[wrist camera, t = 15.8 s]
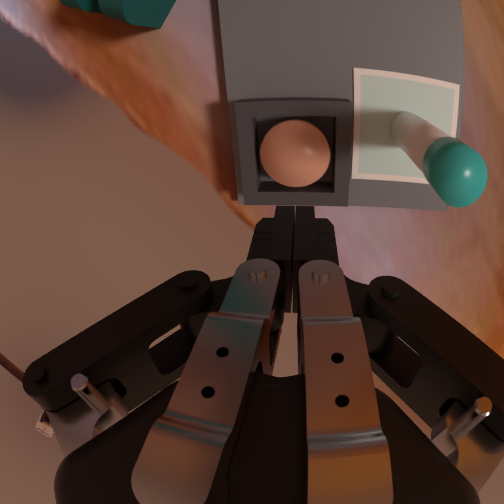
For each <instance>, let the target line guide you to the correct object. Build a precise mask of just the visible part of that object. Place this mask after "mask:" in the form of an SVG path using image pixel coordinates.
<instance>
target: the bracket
mask: <svg viewBox="0 0 504 504" xmlns="http://www.w3.org/2000/svg"><path fill="white" fill-rule="evenodd" d="M60 2H61V3H62V4H63V5H65V6H67V7H70V8H75V9H79V10H84V11H88V12H96V13H103V14H104V15H105V16H107V17H110V18H113V19H117V20H120V21H123V22H126V23H129V24H132V25H139V26H146V27H153V28H161V26H162V25H163V23H164V21H165V19H166V17H167V15H168V14H169V12H170V10H171V8H172V7H173V5H174V3H175V2H176V0H60Z"/></svg>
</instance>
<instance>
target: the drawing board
mask: <svg viewBox="0 0 504 504" xmlns="http://www.w3.org/2000/svg"><path fill="white" fill-rule="evenodd" d="M218 7H219V18H220V29H221V40H222V50H223V60H224V71H225V81H226V91H227V101H228V111H229V120H230V130H231V140H232V150H233V159H234V169H235V178H236V187H237V197H238V204H244V205H314V206H373V207H393V208H410V209H425V210H439V211H447V208H448V204H446V203H445V202H444V201H443V200H442V199H441V198H440V196H439V195H438V194H437V193H436V191H435V190H434V189H433V187H432V186H431V185H430V184H429V182H428V181H427V180H426V178H425V175H424V174H423V173H422V172H421V170H420V169H419V168H418V167H417V166H416V165H415V163H414V162H413V161H412V160H411V159H410V158H409V157H408V156H407V155H406V153H405V152H404V151H403V150H402V149H401V148H400V147H399V146H398V145H397V144H396V143H395V142H394V140H393V139H392V137H391V134H390V124H391V121H392V120H393V118H394V117H395V116H396V115H397V114H399V113H401V112H412V113H414V114H416V115H418V116H419V117H421V118H423V119H424V120H426V121H428V122H429V123H431V124H433V125H434V126H436V127H437V128H439V129H441V130H442V131H444V132H445V133H447V134H448V135H450V136H451V137H454V138H457V139H459V140H460V132H461V122H462V111H463V95H464V35H463V21H462V10H461V1H460V0H218ZM288 117H302V118H305V119H308V120H310V121H312V122H314V123H315V124H316V125H318V126H319V127H320V129H321V130H322V131H323V133H324V135H325V136H326V139H327V142H328V145H329V149H330V161H329V165H328V168H327V170H326V171H325V173H324V174H323V176H322V177H321V178H320V179H318V180H317V181H316V182H314V183H312V184H310V185H307V186H302V187H290V186H286V185H283V184H280V183H278V182H277V181H275V180H274V179H272V178H271V177H270V176H269V175H268V174H267V172H266V171H265V169H264V167H263V165H262V162H261V158H260V149H261V144H262V142H263V139H264V137H265V135H266V133H267V131H268V130H269V129H270V127H271V126H272V125H273V124H275V123H276V122H277V121H279V120H281V119H284V118H288Z"/></svg>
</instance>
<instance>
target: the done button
mask: <svg viewBox="0 0 504 504" xmlns="http://www.w3.org/2000/svg"><path fill="white" fill-rule="evenodd" d="M260 158H261V162H262V165H263V167H264V169H265V171H266V172H267V174H268V175H269V176H270V177H271V178H272V179H274V180H275V181H277V182H278V183H280V184H283V185H286V186H290V187H302V186H307V185H310V184H312V183H314V182H316V181H317V180H318V179H320V178H321V177H322V176H323V174H324V173H325V171H326V170H327V168H328V165H329V161H330V149H329V145H328V142H327V139H326V136H325V135H324V133H323V131H322V130H321V129H320V127H319V126H318V125H316V124H315V123H314V122H312V121H310V120H308V119H305V118H302V117H288V118H284V119H281V120H279V121H277V122H276V123H275V124H273V125H272V126H271V127H270V129H269V130H268V131H267V133H266V135H265V137H264V139H263V142H262V144H261V149H260Z"/></svg>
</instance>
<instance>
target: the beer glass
mask: <svg viewBox="0 0 504 504" xmlns="http://www.w3.org/2000/svg"><path fill="white" fill-rule="evenodd" d="M35 428H36V429H37V430H38V431H40V432H41V433H43V434H44V435H46V436H47V437H49V438H51V436H52V434H53V432H54V430H53V428H52V425H51V423H50V420H49V417H48V415H47V413H46V411H45V410H44V411H43V412H42V414H41V415H40V417H39V419H38V421H37V424H36V427H35Z"/></svg>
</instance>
